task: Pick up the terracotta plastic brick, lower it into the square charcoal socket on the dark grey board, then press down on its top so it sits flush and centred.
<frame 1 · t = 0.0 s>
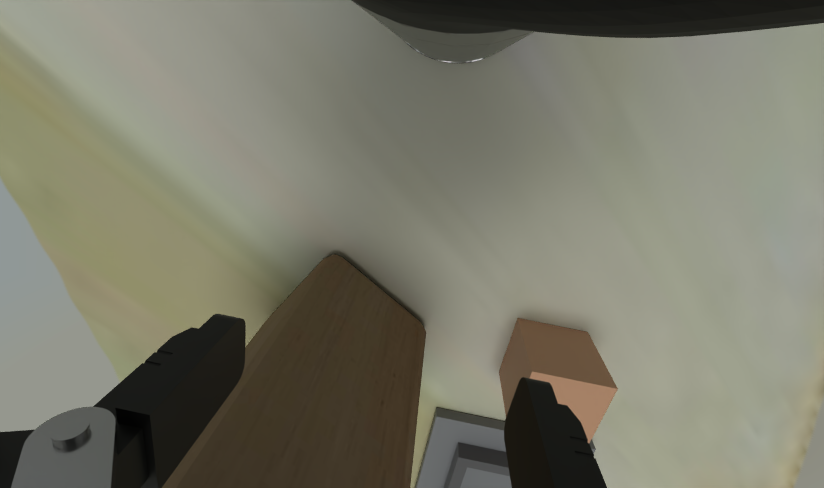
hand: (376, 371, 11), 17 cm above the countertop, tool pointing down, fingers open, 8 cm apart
socket board: (493, 474, 37), on the countertop
wooden block: (346, 321, 32), on the countertop
brick: (541, 352, 31), on the countertop
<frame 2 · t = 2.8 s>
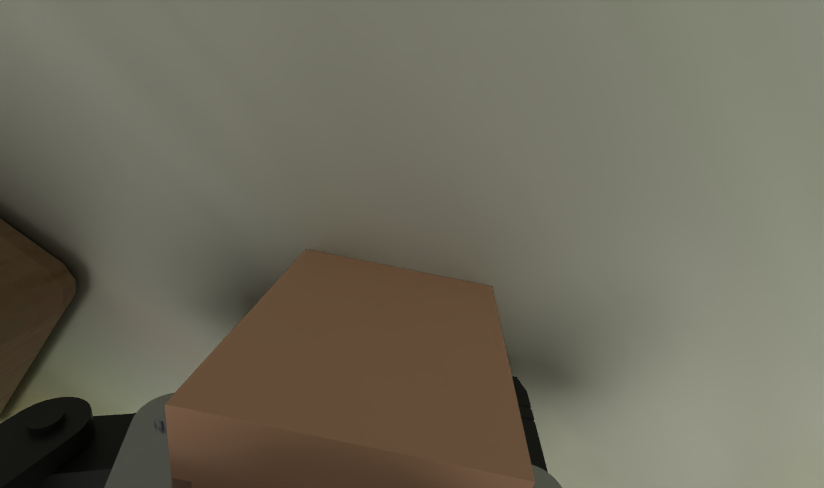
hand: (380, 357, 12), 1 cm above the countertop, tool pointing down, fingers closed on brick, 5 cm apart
brick: (384, 344, 12), on the countertop, touching gripper
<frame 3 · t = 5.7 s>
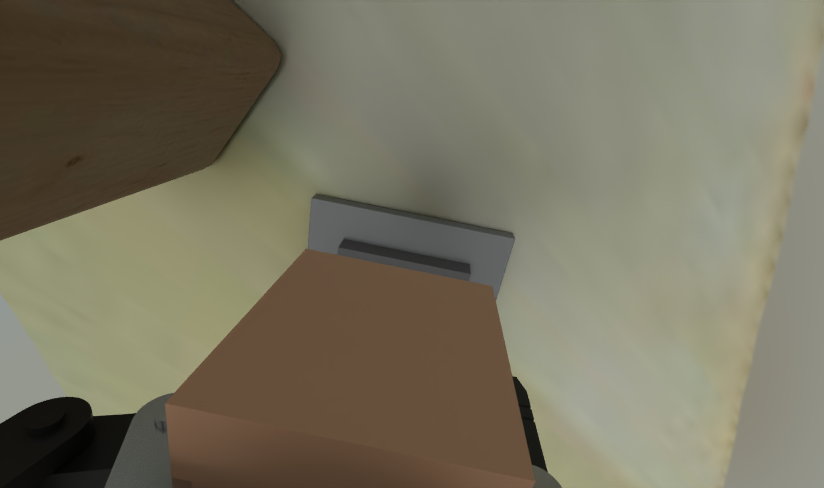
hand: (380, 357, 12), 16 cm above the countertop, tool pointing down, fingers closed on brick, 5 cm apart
socket board: (398, 298, 30), on the countertop
wooden block: (188, 61, 24), on the countertop
brick: (384, 344, 12), point 16 cm above the countertop, touching gripper
when the fingers open (4 cm above the countertop, at t = 8.9 s): brick drops 2 cm, resting on socket board.
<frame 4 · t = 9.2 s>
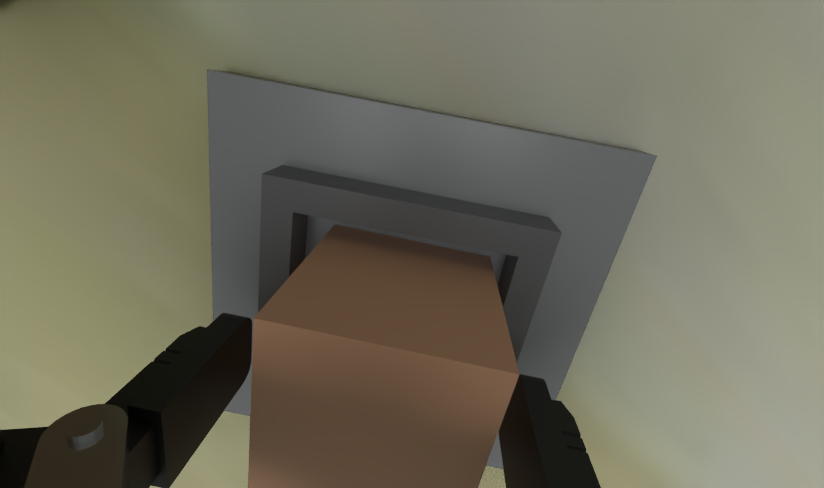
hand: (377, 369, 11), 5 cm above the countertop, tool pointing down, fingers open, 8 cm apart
socket board: (397, 293, 15), on the countertop
brick: (398, 307, 14), point 1 cm above the countertop, touching socket board
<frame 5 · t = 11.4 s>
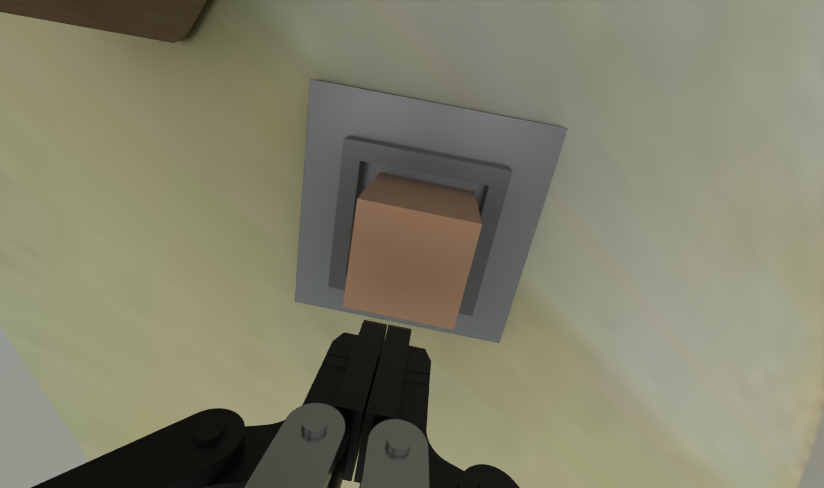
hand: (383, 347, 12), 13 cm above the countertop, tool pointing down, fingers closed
socket board: (416, 220, 24), on the countertop
brick: (418, 225, 23), point 1 cm above the countertop, touching socket board
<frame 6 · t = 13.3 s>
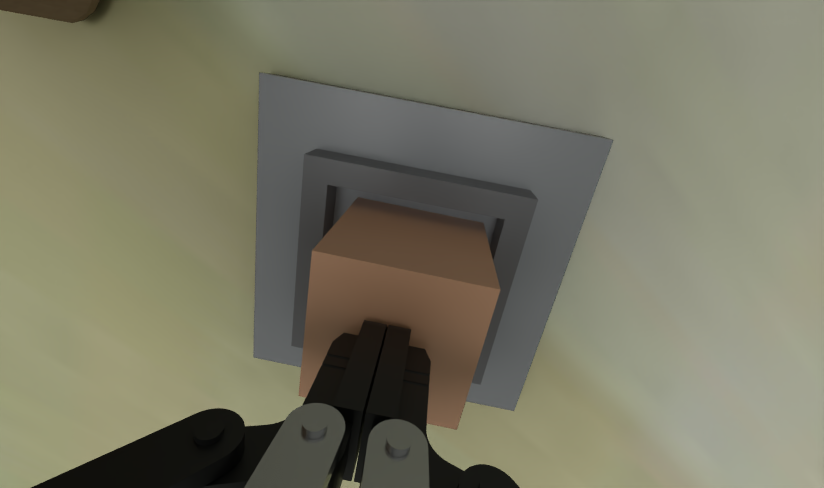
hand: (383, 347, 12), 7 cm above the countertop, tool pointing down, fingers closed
socket board: (407, 257, 18), on the countertop
brick: (409, 266, 18), point 1 cm above the countertop, touching gripper, socket board
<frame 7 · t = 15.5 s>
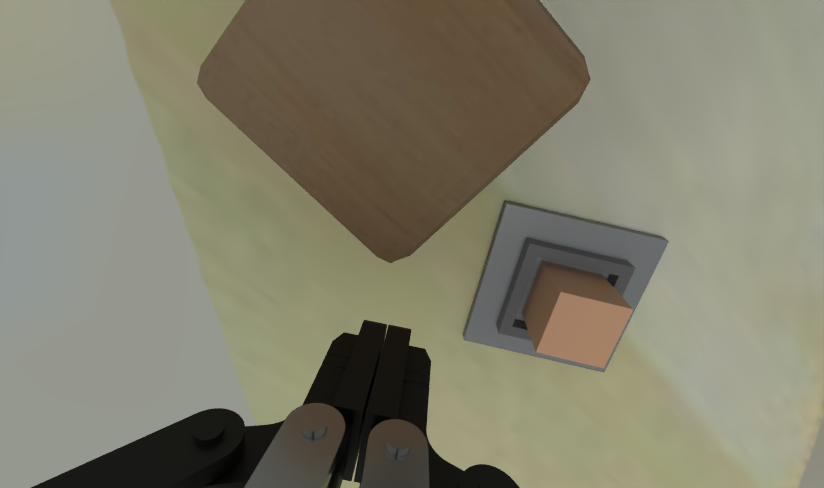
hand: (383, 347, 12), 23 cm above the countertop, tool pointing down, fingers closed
socket board: (555, 288, 36), on the countertop
wooden block: (421, 92, 31), on the countertop
brick: (561, 294, 35), point 1 cm above the countertop, touching socket board
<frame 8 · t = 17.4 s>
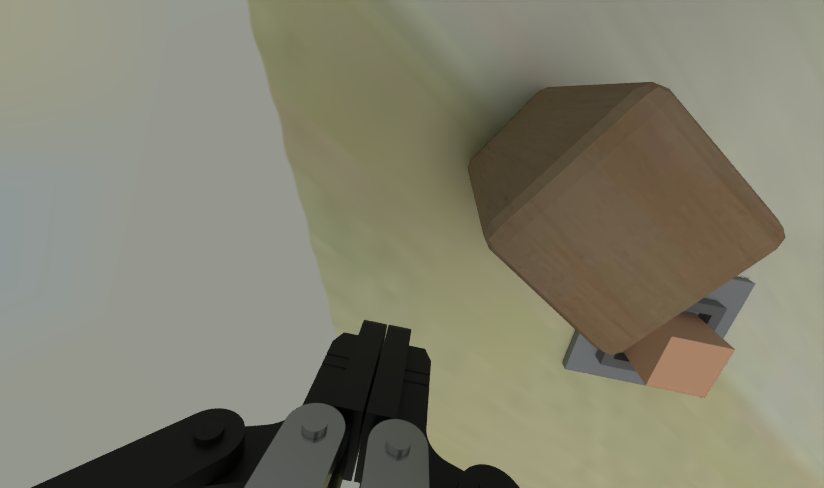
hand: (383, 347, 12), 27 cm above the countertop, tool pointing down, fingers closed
socket board: (648, 323, 41), on the countertop
wooden block: (538, 164, 36), on the countertop
brick: (655, 329, 40), point 1 cm above the countertop, touching socket board
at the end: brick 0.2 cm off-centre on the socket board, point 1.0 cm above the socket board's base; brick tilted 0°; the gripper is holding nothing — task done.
